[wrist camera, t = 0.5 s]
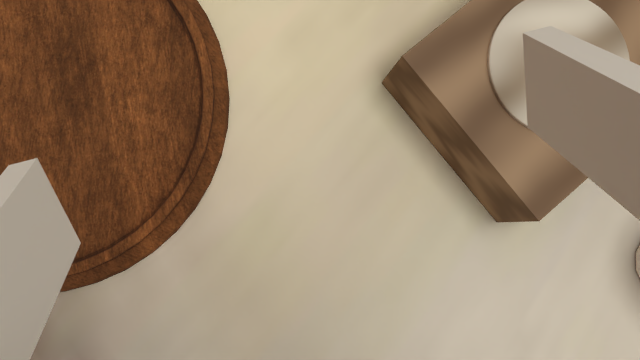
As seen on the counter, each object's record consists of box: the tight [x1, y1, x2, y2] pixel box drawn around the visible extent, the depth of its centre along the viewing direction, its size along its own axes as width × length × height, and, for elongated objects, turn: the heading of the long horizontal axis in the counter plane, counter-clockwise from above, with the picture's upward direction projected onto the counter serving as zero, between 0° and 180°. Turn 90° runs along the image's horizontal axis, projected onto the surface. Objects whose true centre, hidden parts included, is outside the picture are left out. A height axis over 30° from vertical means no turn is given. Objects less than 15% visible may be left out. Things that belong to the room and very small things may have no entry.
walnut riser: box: [382, 0, 640, 222], centre depth 48 cm, size 16×18×9 cm
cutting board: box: [0, 0, 229, 292], centre depth 47 cm, size 32×32×2 cm
